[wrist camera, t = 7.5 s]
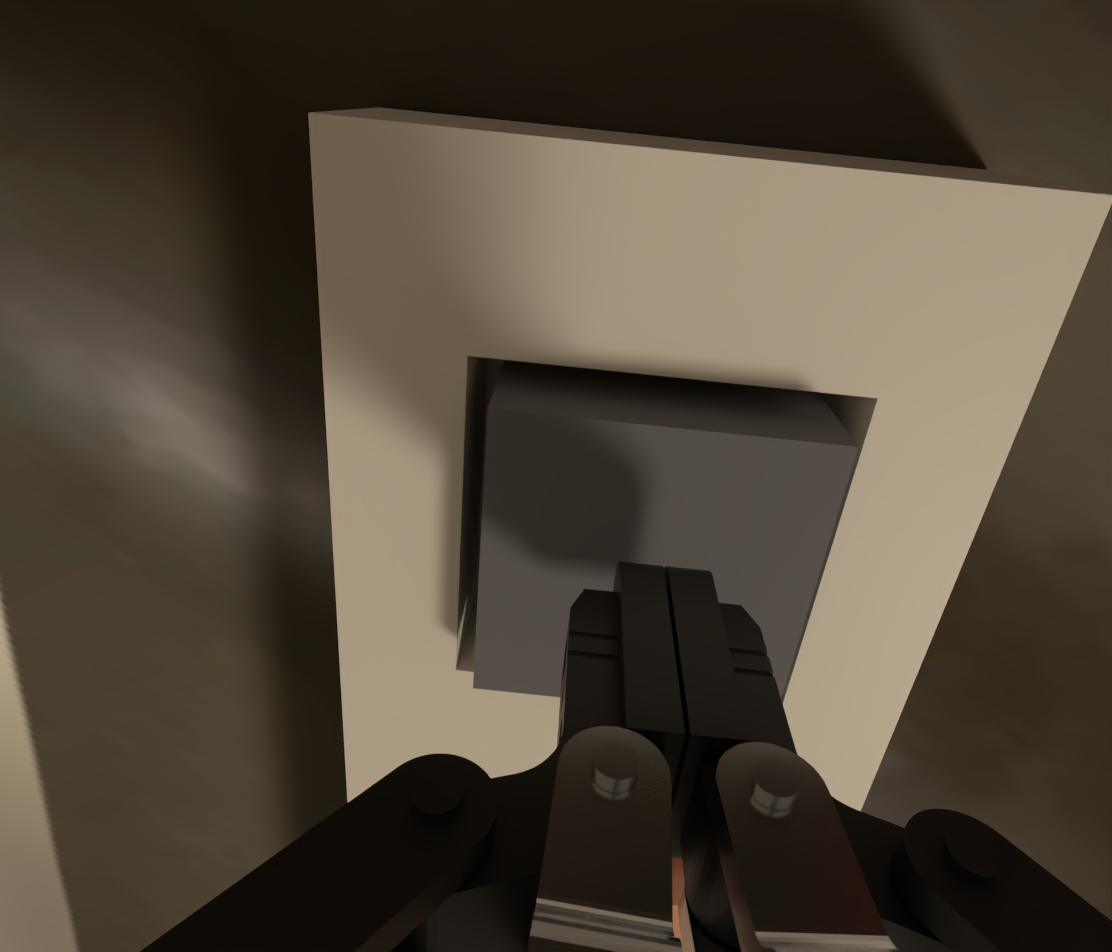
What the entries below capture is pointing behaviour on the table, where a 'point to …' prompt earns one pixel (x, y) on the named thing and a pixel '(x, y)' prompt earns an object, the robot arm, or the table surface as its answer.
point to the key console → (664, 350)
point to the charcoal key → (647, 504)
